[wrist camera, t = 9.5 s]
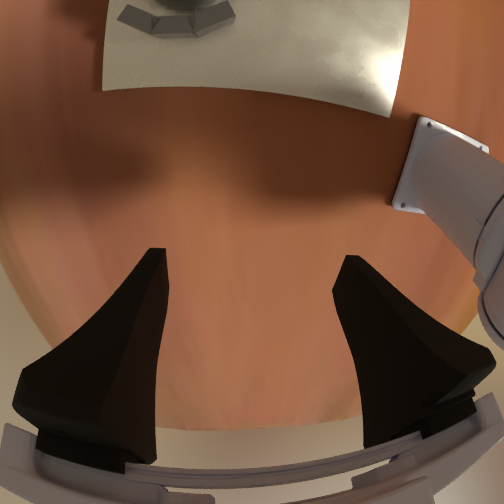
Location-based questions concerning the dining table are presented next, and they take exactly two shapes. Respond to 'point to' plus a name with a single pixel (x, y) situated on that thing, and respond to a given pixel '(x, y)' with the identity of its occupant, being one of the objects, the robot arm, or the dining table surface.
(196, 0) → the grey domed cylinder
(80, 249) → the dining table surface
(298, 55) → the beige plate
